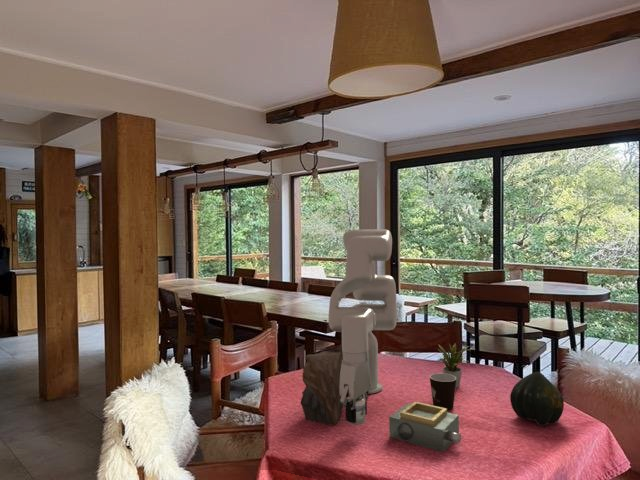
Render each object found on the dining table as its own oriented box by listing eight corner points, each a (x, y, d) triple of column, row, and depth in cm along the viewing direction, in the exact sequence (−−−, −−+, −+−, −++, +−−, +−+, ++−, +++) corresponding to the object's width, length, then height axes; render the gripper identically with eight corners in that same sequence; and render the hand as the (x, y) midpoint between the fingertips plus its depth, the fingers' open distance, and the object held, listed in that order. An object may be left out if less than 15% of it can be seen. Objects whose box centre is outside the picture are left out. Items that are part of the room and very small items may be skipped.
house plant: (479, 393, 165) (479, 347, 165) (441, 393, 165) (440, 348, 165) (467, 379, 179) (467, 338, 179) (432, 380, 180) (431, 338, 179)
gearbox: (388, 438, 131) (388, 412, 131) (407, 422, 141) (407, 398, 141) (453, 456, 120) (453, 428, 120) (469, 438, 130) (469, 412, 130)
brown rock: (299, 420, 145) (298, 357, 144) (316, 405, 156) (315, 347, 156) (336, 426, 140) (335, 361, 139) (351, 410, 151) (350, 350, 151)
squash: (526, 415, 132) (553, 372, 135) (493, 399, 146) (518, 360, 149) (557, 443, 135) (584, 400, 137) (522, 424, 149) (547, 386, 152)
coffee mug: (457, 413, 148) (457, 382, 148) (430, 411, 150) (430, 380, 149) (454, 399, 159) (454, 371, 159) (429, 398, 161) (428, 370, 161)
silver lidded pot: (343, 421, 132) (343, 395, 132) (353, 415, 137) (353, 389, 136) (359, 426, 129) (359, 399, 129) (368, 419, 134) (368, 393, 133)
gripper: (359, 346, 141) (360, 404, 142) (327, 362, 127) (328, 426, 128) (381, 350, 137) (382, 410, 138) (350, 367, 123) (351, 433, 124)
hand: (356, 417), depth 133 cm, fingers closed on silver lidded pot, 5 cm apart
